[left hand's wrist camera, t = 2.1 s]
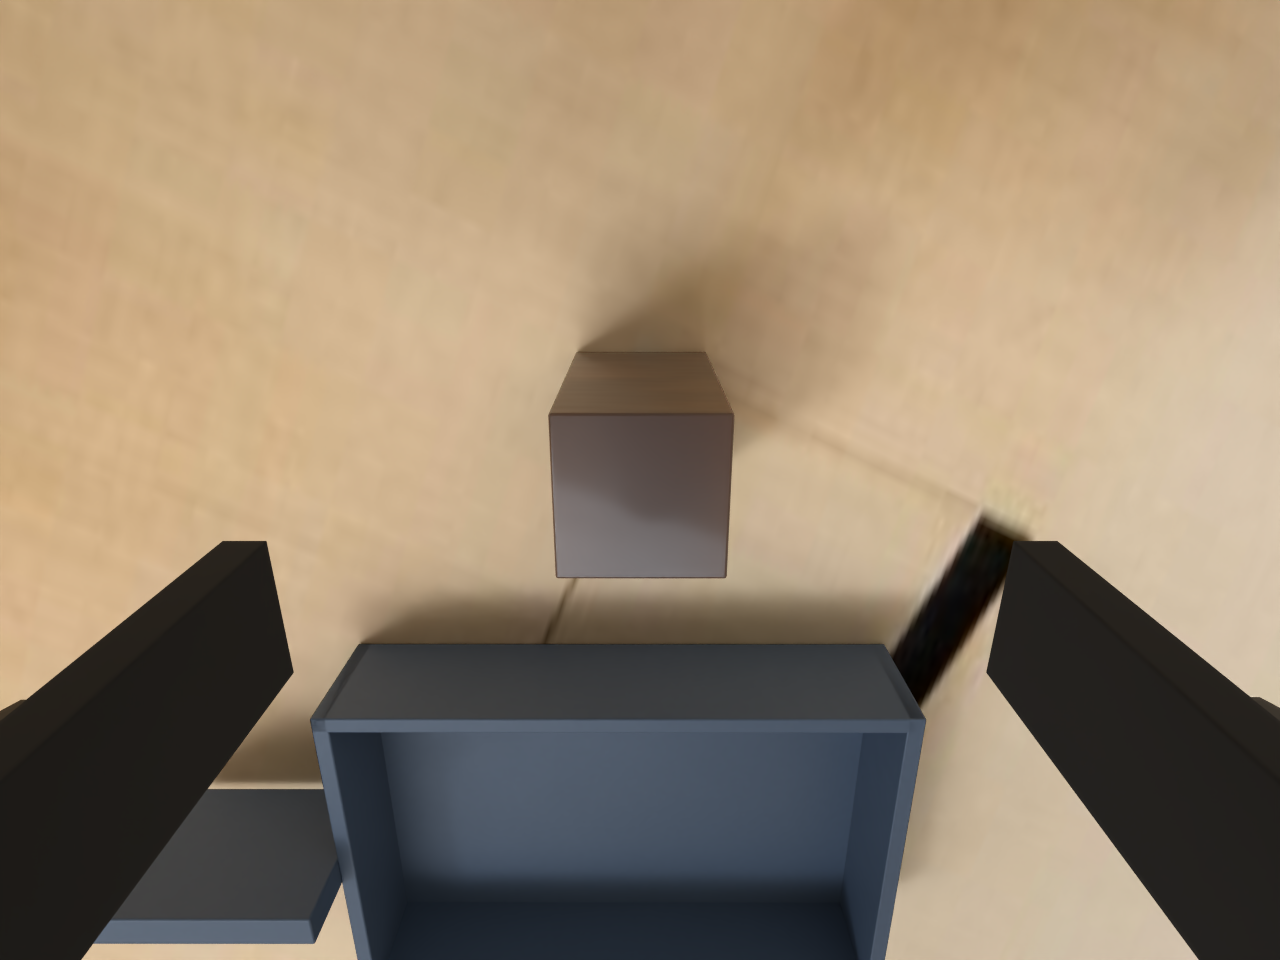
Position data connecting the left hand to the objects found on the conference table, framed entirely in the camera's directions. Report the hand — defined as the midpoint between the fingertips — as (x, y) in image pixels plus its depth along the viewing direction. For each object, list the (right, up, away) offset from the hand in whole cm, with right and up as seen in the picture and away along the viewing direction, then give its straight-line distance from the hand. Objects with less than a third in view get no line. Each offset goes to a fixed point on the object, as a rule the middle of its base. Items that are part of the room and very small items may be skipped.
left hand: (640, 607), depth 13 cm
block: (0, +5, +13) cm, 14 cm away
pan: (-5, -11, +19) cm, 22 cm away
